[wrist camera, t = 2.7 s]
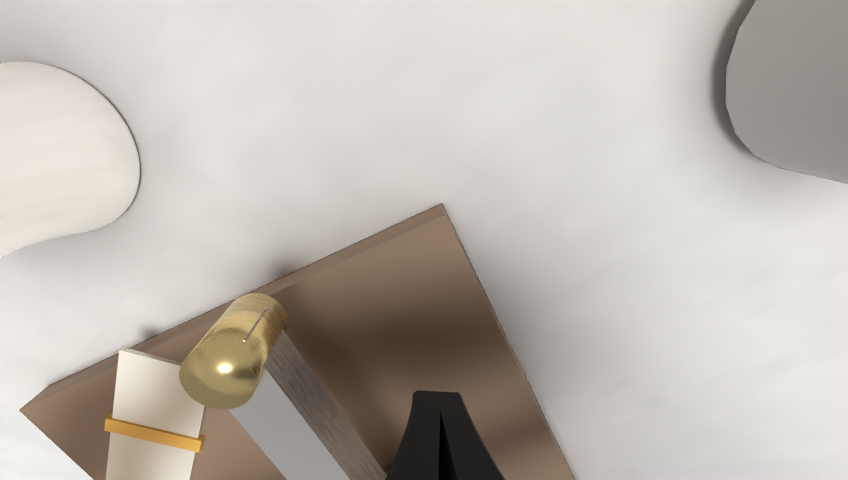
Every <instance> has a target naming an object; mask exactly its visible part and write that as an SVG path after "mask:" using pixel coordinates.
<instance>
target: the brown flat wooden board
mask: <svg viewBox="0 0 848 480" xmlns="http://www.w3.org/2000/svg"><path fill="white" fill-rule="evenodd" d="M250 293H259V294H264V295H267V296H270V297H272V298H274V299H275V300H277V301H278V302H279V303H280V304H281V305H282V306H283V307H284V309H285V310H286V312H287V315H288V319H289V325H288V329H287V332H286V334H287V336H288V337H289V339H290V340H291V341H292V343H293V344H294V346H295V347H296V348H297V350H298V351H299V353H300V354H301V355H302V357H303V358H304V360H305V361H306V362H307V364H308V365H309V367H310V368H311V369H312V371H313V372H314V374H315V375H316V377H317V378H318V379H319V381H320V382H321V384H322V385H323V386H324V388H325V389H326V391H327V392H328V393H329V395H330V396H331V398H332V399H333V400H334V402H335V403H336V405H337V406H338V408H339V409H340V410H341V412H342V413H343V415H344V416H345V417H346V419H347V420H348V422H349V423H350V424H351V426H352V427H353V429H354V430H355V431H356V433H357V434H358V436H359V437H360V438H361V440H362V441H363V443H364V444H365V446H366V447H367V448H368V450H369V451H370V453H371V454H372V455H373V457H374V458H375V460H376V461H377V462H378V464H379V465H380V467H381V468H382V469H383V471H384V472H386V471H387V470H389V469H390V468H391V465H392V463H393V461H394V459H395V456H396V454H397V451H398V449H399V446H400V443H401V441H402V438H403V435H404V432H405V429H406V426H407V423H408V419H409V416H410V412H411V407H412V398H413V393H414V392H415V391H417V390H420V391H440V392H459V394H460V395H461V396H462V398H463V401H464V403H465V406H466V408H467V410H468V413H469V415H470V417H471V419H472V421H473V423H474V425H475V427H476V429H477V431H478V433H479V435H480V437H481V439H482V441H483V443H484V444H485V446H486V448H487V450H488V452H489V453H490V455H491V457H492V459H493V460H494V462H495V464H496V465H497V467H498V469H499V470H500V472H501V473H502V475H503V477H504V478H505V480H575V479H574V476H573V474H572V472H571V470H570V468H569V466H568V464H567V462H566V460H565V458H564V456H563V454H562V451H561V449H560V447H559V445H558V443H557V441H556V439H555V437H554V435H553V433H552V431H551V429H550V426H549V424H548V422H547V420H546V418H545V416H544V414H543V412H542V410H541V408H540V406H539V404H538V402H537V399H536V397H535V395H534V393H533V391H532V389H531V387H530V385H529V383H528V381H527V379H526V377H525V374H524V372H523V370H522V368H521V366H520V364H519V362H518V360H517V358H516V356H515V354H514V352H513V349H512V347H511V345H510V343H509V341H508V339H507V337H506V335H505V333H504V331H503V329H502V327H501V324H500V322H499V320H498V318H497V316H496V314H495V312H494V310H493V308H492V306H491V304H490V302H489V300H488V297H487V295H486V293H485V291H484V289H483V287H482V285H481V283H480V281H479V279H478V277H477V275H476V272H475V270H474V268H473V266H472V264H471V262H470V260H469V258H468V256H467V254H466V252H465V250H464V247H463V245H462V243H461V241H460V239H459V237H458V235H457V233H456V231H455V229H454V227H453V225H452V223H451V220H450V218H449V216H448V214H447V212H446V210H445V208H444V206H443V204H440V205H437V206H435V207H433V208H431V209H429V210H427V211H424V212H422V213H420V214H418V215H416V216H414V217H411V218H409V219H407V220H405V221H403V222H401V223H399V224H396V225H394V226H392V227H390V228H388V229H386V230H383V231H381V232H379V233H377V234H375V235H373V236H371V237H368V238H366V239H364V240H362V241H360V242H358V243H355V244H353V245H351V246H349V247H347V248H345V249H343V250H340V251H338V252H336V253H334V254H332V255H330V256H327V257H325V258H323V259H321V260H319V261H317V262H314V263H312V264H310V265H308V266H306V267H304V268H302V269H299V270H297V271H295V272H293V273H291V274H289V275H286V276H284V277H282V278H280V279H278V280H276V281H274V282H271V283H269V284H267V285H265V286H263V287H261V288H258V289H256V290H254V291H252V292H250ZM250 293H248V294H250ZM235 300H236V299H235ZM235 300H233V301H230V302H228V303H226V304H224V305H222V306H220V307H218V308H215V309H213V310H211V311H209V312H207V313H205V314H202V315H200V316H198V317H196V318H194V319H192V320H189V321H187V322H185V323H183V324H181V325H179V326H177V327H174V328H172V329H170V330H168V331H166V332H164V333H161V334H159V335H157V336H155V337H153V338H151V339H149V340H146V341H144V342H142V343H140V344H138V345H136V346H133V347H131V348H129V349H128V348H125V347H122V348H121V349H120V350H119V353H118V354H116V355H114V356H112V357H110V358H108V359H105V360H103V361H101V362H99V363H97V364H95V365H92V366H90V367H88V368H86V369H84V370H82V371H80V372H77V373H75V374H73V375H71V376H69V377H67V378H64V379H62V380H60V381H58V382H56V383H54V384H52V385H49V386H48V387H47V388H45V389H44V390H43V391H42V392H40V393H39V394H38V395H37V396H36V397H34V398H33V399H32V400H31V401H29V402H28V403H27V404H26V405H25V406H23V407H22V408H21V409H20V410H19V411H20V412H21V413H23V414H24V415H25V416H26V417H27V418H28V419H29V420H30V421H31V422H32V423H33V424H34V425H35V426H37V427H38V428H39V429H40V430H41V431H42V432H43V433H44V434H45V435H46V436H47V437H48V438H49V439H51V440H52V441H53V442H54V443H55V444H56V445H57V446H58V447H59V448H60V449H61V450H62V451H64V452H65V453H66V454H67V455H68V456H69V457H70V458H71V459H72V460H73V461H74V462H75V463H76V464H78V465H79V466H80V467H81V468H82V469H83V470H84V471H85V472H86V473H87V474H88V475H89V476H90V477H92V478H93V479H94V480H287V479H286V478H285V477H284V476H283V474H282V473H281V472H280V471H279V470H278V468H277V467H276V466H275V465H274V464H273V462H272V461H271V460H270V459H269V458H268V457H267V455H266V454H265V453H264V452H263V451H262V449H261V448H260V447H259V446H258V445H257V443H256V442H255V441H254V440H253V439H252V437H251V436H250V435H249V434H248V433H247V431H246V430H245V429H244V428H243V427H242V425H241V424H240V423H239V422H238V421H237V420H236V418H235V417H234V416H233V415H232V414H231V412H230V411H229V410H228V409H226V410H221V409H214V408H210V407H207V406H204V405H202V404H200V403H198V402H197V401H195V400H194V399H192V398H191V397H190V396H189V395H188V394H187V393H186V391H185V390H184V389H183V387H182V385H181V382H180V379H179V370H180V366H181V364H182V362H183V361H184V359H185V358H186V357H187V356H188V355H189V354H190V352H191V351H192V350H193V349H194V348H195V346H196V345H197V344H198V343H199V342H200V341H201V339H202V338H203V337H204V336H205V335H206V333H207V332H208V331H209V330H210V329H211V328H212V326H213V325H214V324H215V323H216V322H217V321H218V319H219V318H220V317H221V316H222V315H223V313H224V312H225V311H226V310H227V309H228V308H229V306H230V305H231V304H232V303H233V302H234V301H235Z"/></svg>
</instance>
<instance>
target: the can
mask: <svg viewBox="0 0 848 480" xmlns="http://www.w3.org/2000/svg"><path fill="white" fill-rule="evenodd" d="M726 107H727V110H728V113H729V116H730V119H731V122H732V125H733V128H734V131H735V134H736V135H737V136H738V138H739V139H740V140H741V141H742V142H743V143H744V144H745V146H746V147H747V148H748V149H749V150H750V151H751V153H752V154H753V155H754V156H756V157H758V158H760V159H762V160H764V161H766V162H768V163H770V164H773V165H775V166H777V167H779V168H782V169H786V170H790V171H795V172H799V173H803V174H808V175H812V176H816V177H820V178H825V179H829V180H833V181H838V182H842V183H846V184H848V0H756V1H755V3H754V5H753V6H752V8H751V10H750V11H749V13H748V15H747V16H746V18H745V19H744V21H743V23H742V24H741V26H740V28H739V30H738V33H737V36H736V39H735V43H734V46H733V49H732V52H731V55H730V58H729V62H728V65H727V69H726Z"/></svg>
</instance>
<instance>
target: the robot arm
mask: <svg viewBox="0 0 848 480" xmlns="http://www.w3.org/2000/svg"><path fill="white" fill-rule="evenodd" d="M385 480H505V478H504V477H503V475H502V473H501V472H500V470H499V469H498V467H497V465H496V464H495V462H494V460H493V459H492V457H491V455H490V453H489V452H488V450H487V448H486V446H485V444H484V443H483V441H482V439H481V437H480V435H479V433H478V431H477V429H476V427H475V425H474V423H473V421H472V419H471V417H470V415H469V413H468V410H467V408H466V406H465V403H464V401H463V398H462V396H461V395H460V394H459V392H440V391H420V390H417V391H415V392H414V393H413V398H412V407H411V412H410V416H409V419H408V423H407V426H406V429H405V432H404V435H403V438H402V441H401V443H400V446H399V449H398V451H397V454H396V456H395V459H394V461H393V463H392V465H391V468H390V470H389V472H388V475H387V477H386V479H385Z"/></svg>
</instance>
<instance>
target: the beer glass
mask: <svg viewBox="0 0 848 480" xmlns="http://www.w3.org/2000/svg"><path fill="white" fill-rule="evenodd" d="M139 180H140V163H139V156H138V152H137V148H136V145H135V142H134V139H133V137H132V135H131V133H130V130H129V129H128V127H127V125H126V123H125V122H124V120H123V118H122V117H121V116H120V114H119V113H118V111H117V110H116V109H115V108H114V107H113V105H112V104H111V103H110V102H109V101H108V100H107V99H106V98H105V97H104V96H103V95H102V94H101V93H100V92H98V91H97V90H96V89H95V88H93V87H92V86H91V85H89V84H88V83H86V82H85V81H83V80H82V79H80V78H78V77H76V76H75V75H73V74H71V73H68V72H66V71H64V70H61V69H59V68H56V67H52V66H49V65H45V64H41V63H35V62H4V63H0V258H2V257H4V256H6V255H8V254H10V253H12V252H14V251H16V250H18V249H21V248H23V247H26V246H29V245H32V244H34V243H38V242H42V241H45V240H49V239H54V238H59V237H64V236H69V235H74V234H79V233H83V232H87V231H91V230H95V229H98V228H100V227H103V226H105V225H107V224H109V223H111V222H113V221H114V220H116V219H117V218H118V217H120V216H121V215H122V214H123V213H124V212H125V211H126V210H127V209H128V207H129V206H130V205H131V203H132V201H133V199H134V197H135V195H136V193H137V189H138V186H139Z"/></svg>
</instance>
